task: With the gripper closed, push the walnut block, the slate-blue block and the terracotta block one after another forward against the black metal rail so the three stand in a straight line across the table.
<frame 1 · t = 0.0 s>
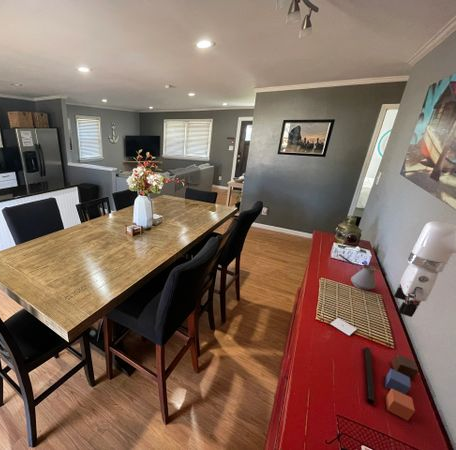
hand: (402, 306, 79), 31 cm above the sideboard, tool pointing down, fingers open, 9 cm apart
coaster: (343, 326, 112), on the sideboard
terracotta block: (396, 408, 79), on the sideboard
coffee pot: (351, 282, 145), on the sideboard
rail: (367, 374, 90), on the sideboard
walnut block: (401, 371, 91), on the sideboard
slate blue block: (394, 387, 86), on the sideboard
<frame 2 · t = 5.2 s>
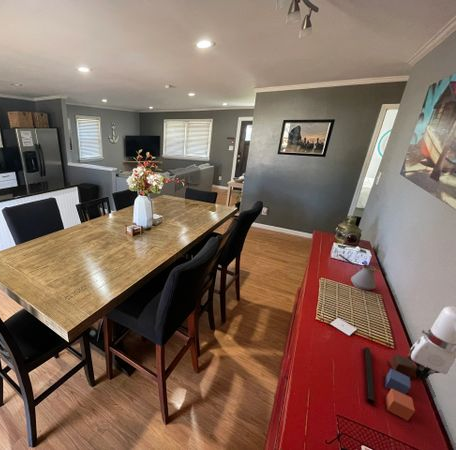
hand: (419, 376, 88), 1 cm above the sideboard, tool pointing down, fingers closed
walnut block: (399, 370, 92), on the sideboard, touching gripper
everything else where it was.
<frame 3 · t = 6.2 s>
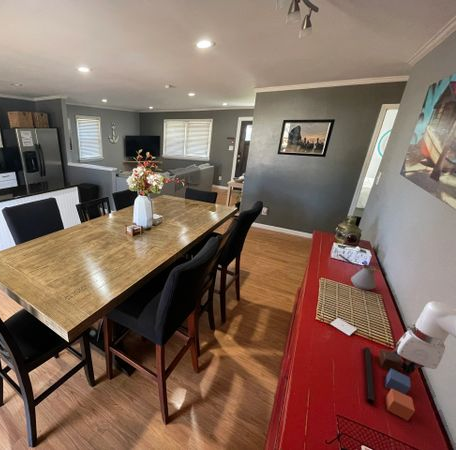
hand: (405, 371, 90), 1 cm above the sideboard, tool pointing down, fingers closed
walnut block: (387, 365, 94), on the sideboard, touching gripper
everything else where it was.
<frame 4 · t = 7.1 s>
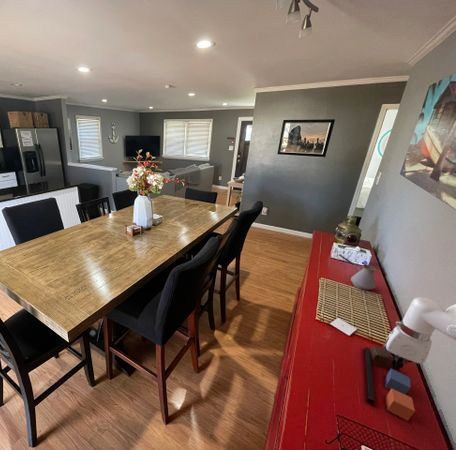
hand: (395, 366, 92), 1 cm above the sideboard, tool pointing down, fingers closed
walnut block: (377, 361, 95), on the sideboard, touching gripper, rail
everything else where it was.
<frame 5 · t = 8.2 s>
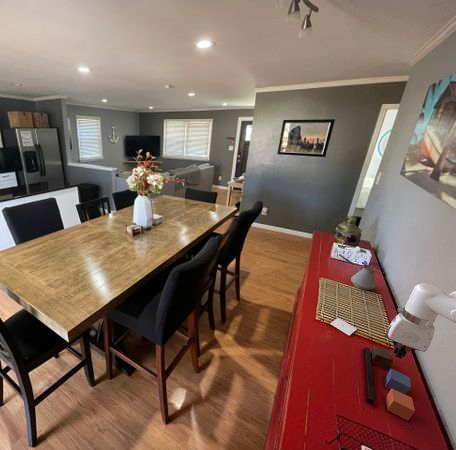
hand: (397, 355, 90), 6 cm above the sideboard, tool pointing down, fingers closed
walnut block: (378, 361, 95), on the sideboard
everything else where it was.
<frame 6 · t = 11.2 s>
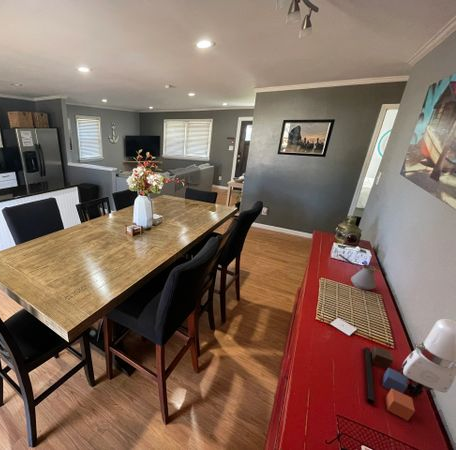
hand: (412, 392, 83), 1 cm above the sideboard, tool pointing down, fingers closed
slate blue block: (391, 385, 86), on the sideboard, touching gripper
everything else where it was.
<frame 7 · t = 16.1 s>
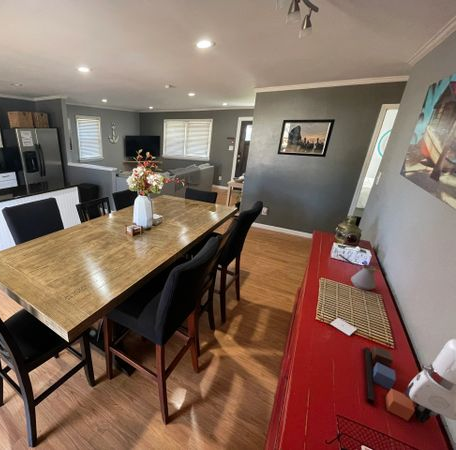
hand: (418, 417, 76), 1 cm above the sideboard, tool pointing down, fingers closed
terracotta block: (396, 408, 79), on the sideboard, touching gripper
slate blue block: (380, 380, 88), on the sideboard
everything else where it was.
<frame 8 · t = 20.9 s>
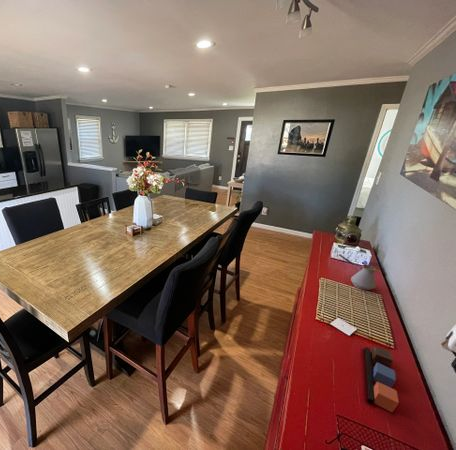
terracotta block: (381, 401, 81), on the sideboard
everything else where it was.
at the end: walnut block 0.3 cm from the target spot, on the sideboard; slate blue block 0.1 cm from the target spot, on the sideboard; terracotta block 0.3 cm from the target spot, on the sideboard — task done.
